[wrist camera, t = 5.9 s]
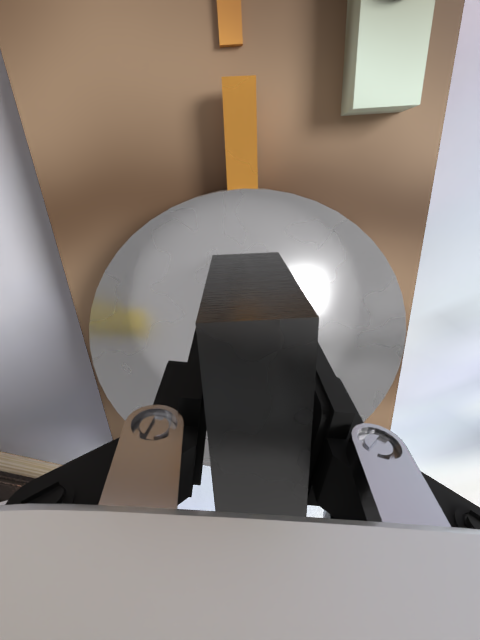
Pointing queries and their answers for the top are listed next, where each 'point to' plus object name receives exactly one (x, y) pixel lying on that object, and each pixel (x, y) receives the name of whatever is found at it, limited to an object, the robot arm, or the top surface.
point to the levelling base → (208, 122)
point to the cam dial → (249, 319)
